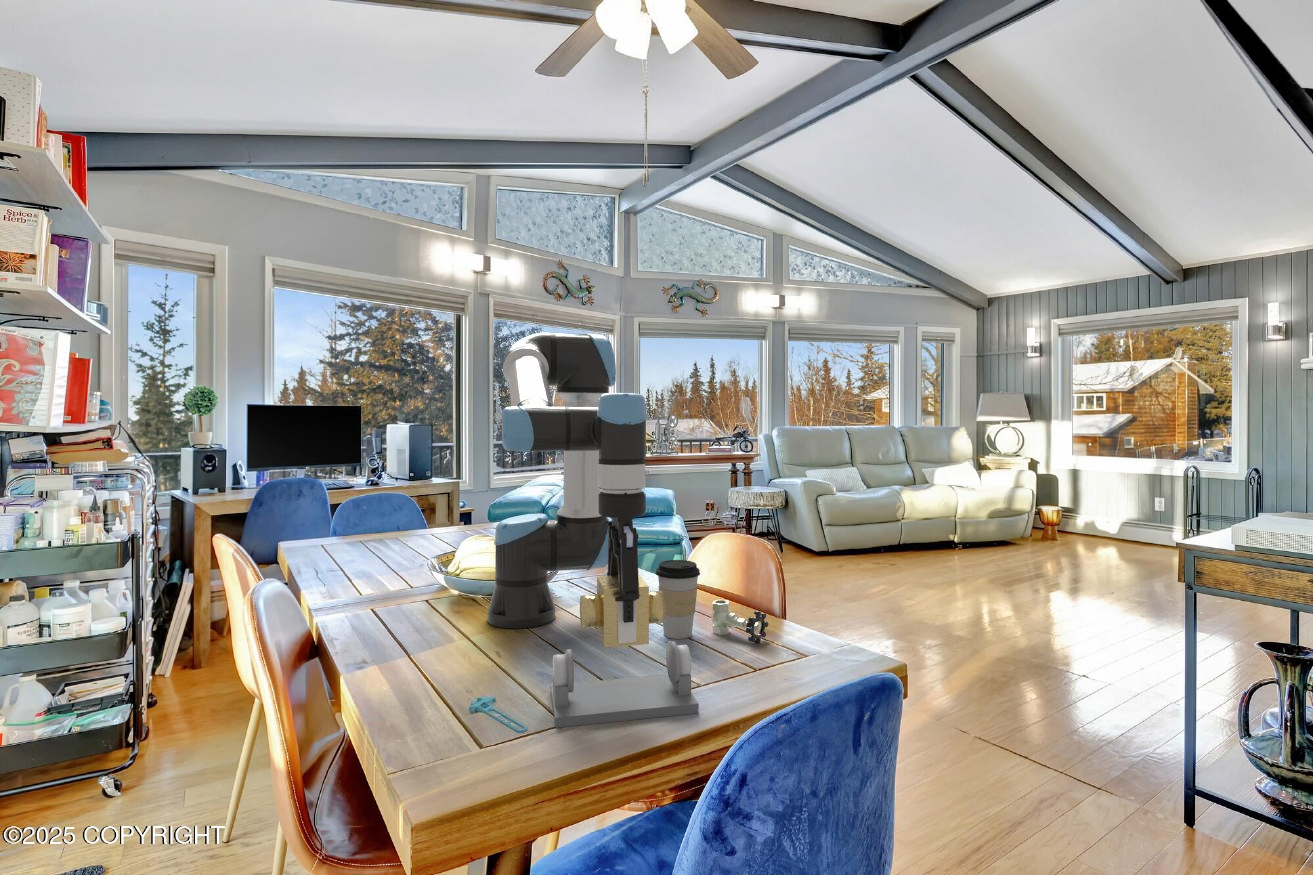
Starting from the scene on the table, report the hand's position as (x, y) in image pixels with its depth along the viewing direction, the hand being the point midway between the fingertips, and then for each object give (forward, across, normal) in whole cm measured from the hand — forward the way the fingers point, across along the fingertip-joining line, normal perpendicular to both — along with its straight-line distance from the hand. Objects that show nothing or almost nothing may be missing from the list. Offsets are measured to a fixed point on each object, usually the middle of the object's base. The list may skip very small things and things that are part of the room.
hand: (622, 632), depth 103 cm
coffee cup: (+12, +30, -17) cm, 37 cm away
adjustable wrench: (+12, 0, +19) cm, 23 cm away
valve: (+12, +26, -29) cm, 41 cm away
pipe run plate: (+11, 0, 0) cm, 11 cm away
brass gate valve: (+1, 0, 0) cm, 1 cm away
